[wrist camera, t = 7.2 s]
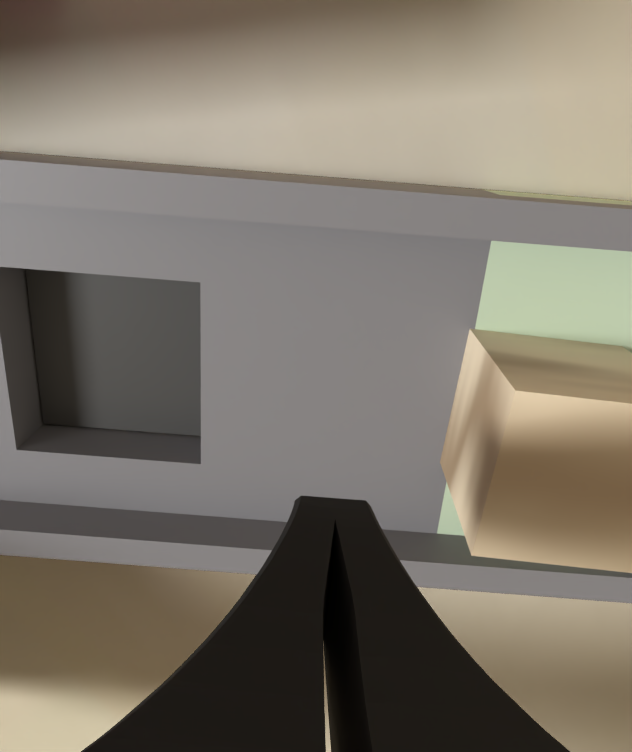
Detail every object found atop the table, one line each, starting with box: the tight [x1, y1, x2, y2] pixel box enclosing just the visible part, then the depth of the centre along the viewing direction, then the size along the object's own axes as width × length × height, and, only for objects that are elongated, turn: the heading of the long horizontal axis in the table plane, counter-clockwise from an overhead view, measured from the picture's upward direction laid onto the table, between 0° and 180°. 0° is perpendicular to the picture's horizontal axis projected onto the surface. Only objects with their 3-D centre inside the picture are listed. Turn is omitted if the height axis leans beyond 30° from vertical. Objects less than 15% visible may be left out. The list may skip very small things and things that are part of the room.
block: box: [440, 329, 632, 573], centre depth 16 cm, size 4×4×4 cm
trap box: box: [0, 151, 632, 603], centre depth 18 cm, size 12×32×4 cm, turn 86°
